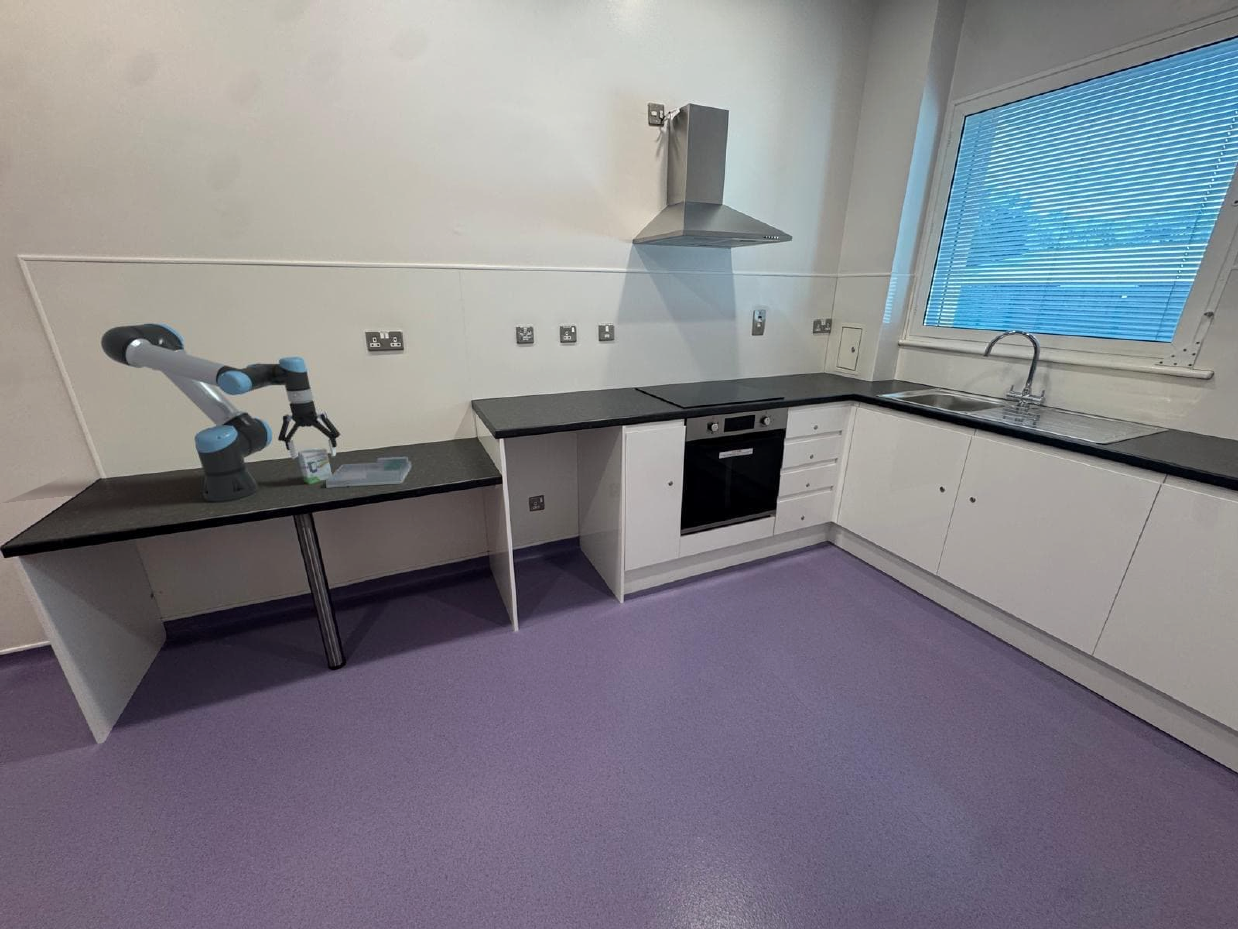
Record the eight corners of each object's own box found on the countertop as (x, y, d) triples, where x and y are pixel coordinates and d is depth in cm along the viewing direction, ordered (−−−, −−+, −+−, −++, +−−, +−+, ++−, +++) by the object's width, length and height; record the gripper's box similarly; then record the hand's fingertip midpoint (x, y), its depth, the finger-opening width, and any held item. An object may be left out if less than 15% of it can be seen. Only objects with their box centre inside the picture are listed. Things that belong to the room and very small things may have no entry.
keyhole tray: (326, 487, 181) (324, 476, 179) (343, 470, 197) (341, 459, 196) (401, 483, 185) (400, 472, 184) (411, 466, 202) (410, 456, 200)
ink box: (327, 475, 192) (321, 446, 188) (333, 478, 190) (327, 449, 185) (303, 481, 186) (296, 451, 182) (309, 484, 183) (302, 454, 179)
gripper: (257, 405, 172) (273, 462, 179) (335, 401, 176) (346, 457, 183) (268, 400, 179) (282, 455, 186) (342, 397, 183) (353, 451, 190)
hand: (314, 456), depth 185 cm, fingers open, 13 cm apart
